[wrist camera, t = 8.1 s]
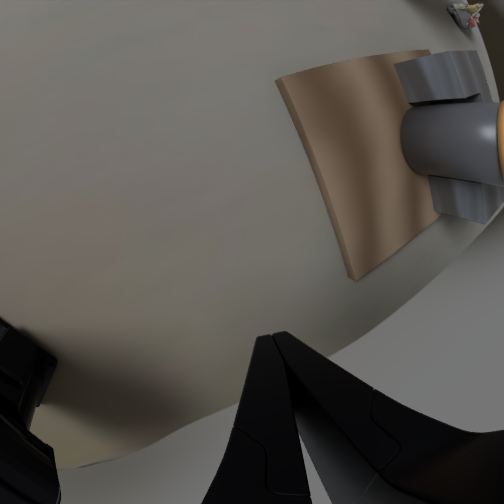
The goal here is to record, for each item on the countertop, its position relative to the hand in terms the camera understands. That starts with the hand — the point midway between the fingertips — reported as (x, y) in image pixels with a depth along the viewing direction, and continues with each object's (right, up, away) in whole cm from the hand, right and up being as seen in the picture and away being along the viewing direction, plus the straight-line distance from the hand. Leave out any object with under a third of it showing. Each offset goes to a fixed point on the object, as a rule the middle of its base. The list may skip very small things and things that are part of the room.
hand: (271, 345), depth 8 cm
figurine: (+26, +34, +12) cm, 44 cm away
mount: (+12, +12, +13) cm, 21 cm away
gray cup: (+14, +12, +12) cm, 22 cm away
